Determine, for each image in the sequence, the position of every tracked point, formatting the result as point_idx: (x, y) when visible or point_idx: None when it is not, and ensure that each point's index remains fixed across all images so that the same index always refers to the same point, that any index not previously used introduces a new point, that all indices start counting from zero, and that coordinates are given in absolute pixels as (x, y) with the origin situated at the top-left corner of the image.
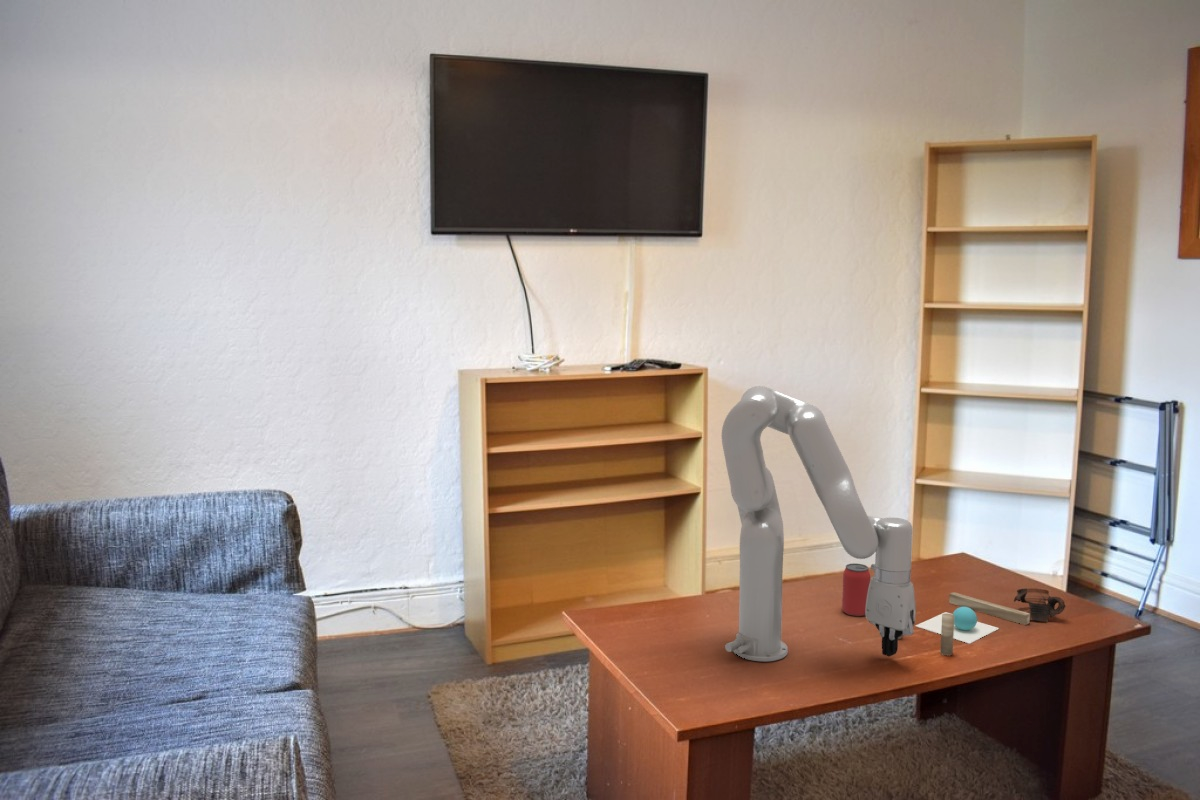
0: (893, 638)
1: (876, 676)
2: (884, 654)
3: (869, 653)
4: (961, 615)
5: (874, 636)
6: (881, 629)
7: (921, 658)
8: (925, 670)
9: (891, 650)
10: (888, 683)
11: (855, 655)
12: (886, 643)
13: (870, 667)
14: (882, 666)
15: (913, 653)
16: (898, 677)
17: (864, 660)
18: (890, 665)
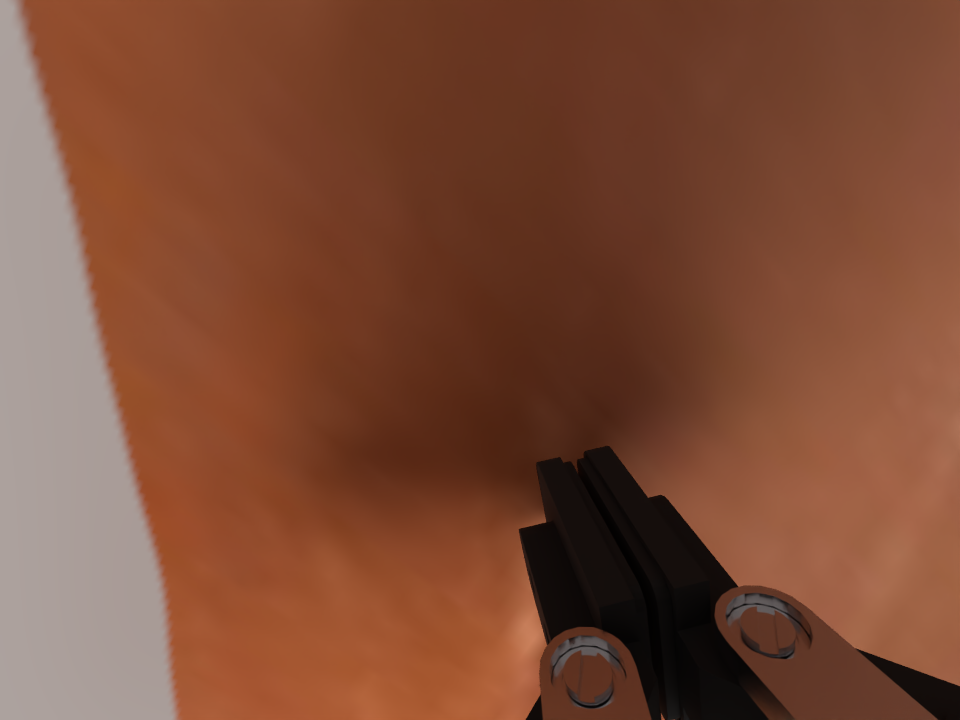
0: (545, 676)
1: (348, 101)
2: (585, 454)
3: (745, 426)
4: None
5: (886, 636)
6: (853, 707)
7: (459, 682)
8: (272, 589)
9: (545, 530)
10: (137, 79)
11: (801, 291)
12: (618, 548)
13: (546, 219)
14: (503, 340)
15: None
16: (236, 298)
17: (684, 286)
18: (482, 417)
